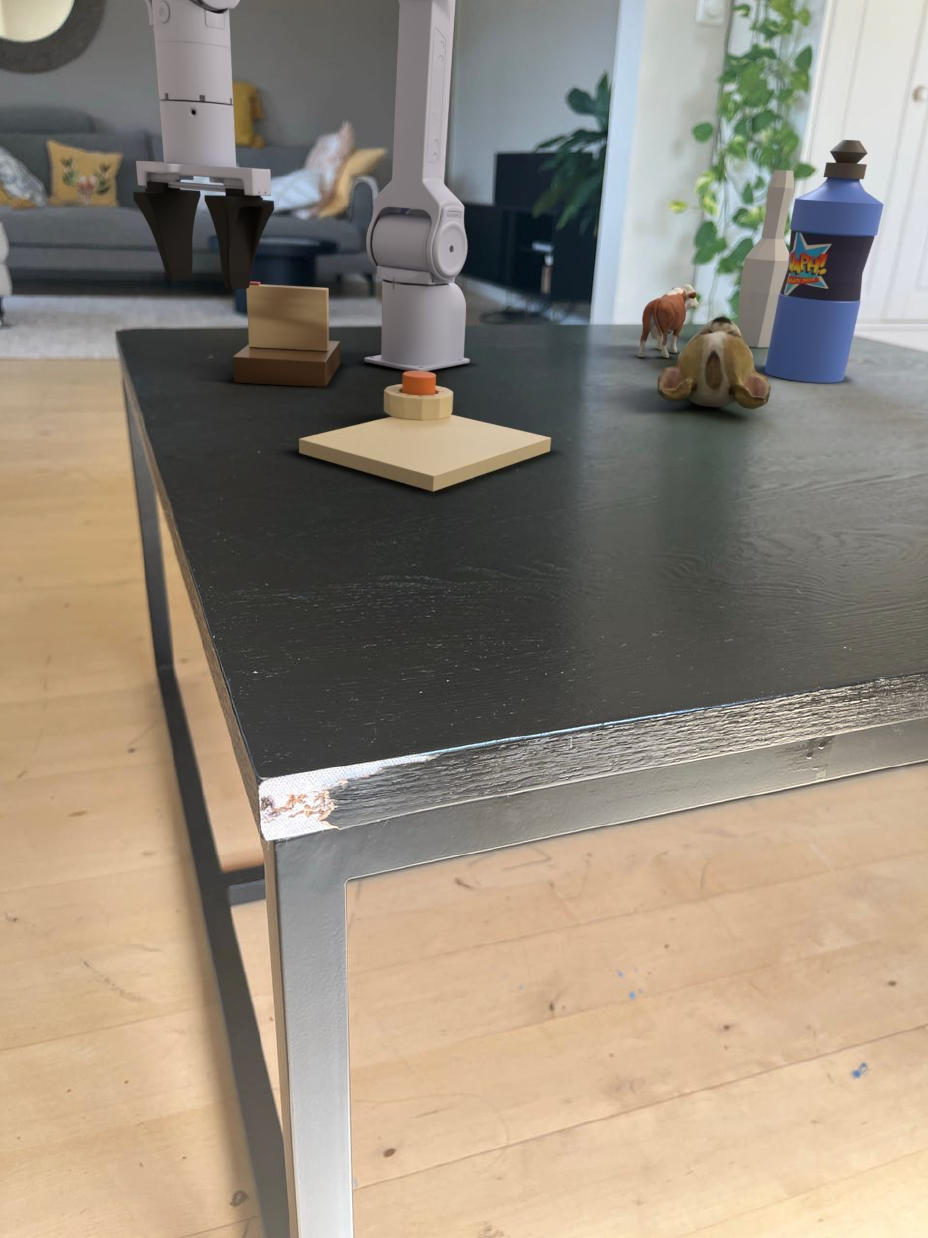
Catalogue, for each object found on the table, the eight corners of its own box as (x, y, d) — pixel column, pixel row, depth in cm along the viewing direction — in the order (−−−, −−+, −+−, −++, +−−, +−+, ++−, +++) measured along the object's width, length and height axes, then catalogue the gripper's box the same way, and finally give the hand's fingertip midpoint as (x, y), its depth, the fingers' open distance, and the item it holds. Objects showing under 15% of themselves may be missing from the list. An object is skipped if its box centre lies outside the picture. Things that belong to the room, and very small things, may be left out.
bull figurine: (697, 349, 126) (707, 284, 123) (659, 362, 116) (668, 292, 112) (666, 345, 128) (675, 281, 125) (626, 357, 118) (634, 288, 115)
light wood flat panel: (329, 348, 99) (328, 285, 96) (327, 351, 97) (326, 286, 95) (251, 344, 98) (248, 281, 96) (248, 347, 97) (246, 282, 94)
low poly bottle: (782, 349, 130) (816, 171, 120) (736, 347, 130) (766, 168, 120) (769, 341, 136) (801, 171, 126) (725, 339, 136) (753, 168, 126)
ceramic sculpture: (776, 307, 97) (784, 338, 84) (761, 391, 101) (766, 433, 89) (670, 300, 99) (662, 328, 86) (660, 383, 103) (650, 422, 91)
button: (416, 389, 82) (417, 369, 82) (441, 395, 81) (442, 374, 80) (395, 394, 80) (395, 373, 80) (420, 400, 79) (421, 378, 78)
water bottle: (809, 385, 108) (860, 137, 97) (746, 369, 115) (787, 137, 104) (861, 379, 112) (915, 143, 102) (798, 365, 119) (842, 142, 109)
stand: (257, 360, 104) (256, 336, 103) (340, 364, 104) (340, 341, 103) (233, 382, 93) (232, 356, 92) (325, 387, 94) (325, 361, 93)
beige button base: (413, 414, 85) (414, 380, 84) (559, 449, 77) (562, 412, 76) (277, 447, 73) (276, 409, 72) (432, 492, 65) (434, 449, 64)
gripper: (98, 98, 77) (116, 276, 83) (217, 99, 69) (227, 296, 75) (170, 105, 82) (182, 272, 88) (288, 107, 74) (293, 290, 80)
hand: (207, 283), depth 82 cm, fingers open, 7 cm apart
